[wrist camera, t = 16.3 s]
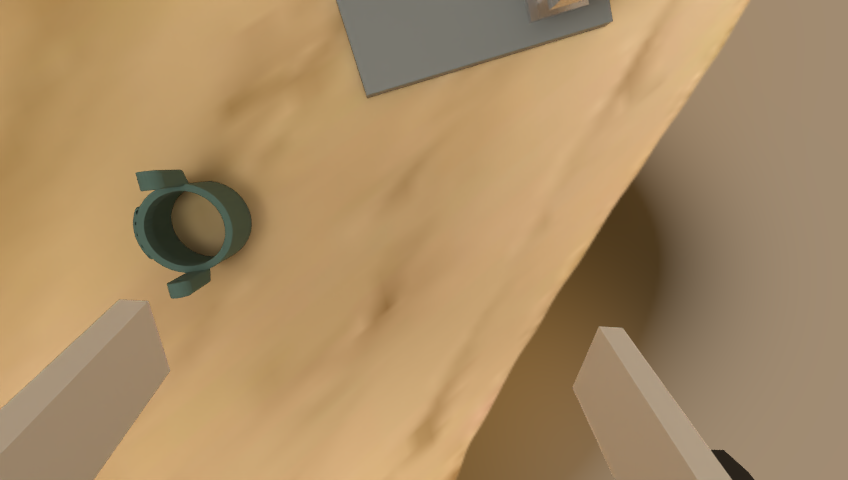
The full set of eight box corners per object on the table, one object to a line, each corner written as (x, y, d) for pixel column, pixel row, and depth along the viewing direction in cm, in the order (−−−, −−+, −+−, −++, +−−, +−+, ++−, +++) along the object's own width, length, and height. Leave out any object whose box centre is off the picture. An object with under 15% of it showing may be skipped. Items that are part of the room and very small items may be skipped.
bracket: (198, 160, 38) (141, 160, 29) (271, 221, 40) (239, 237, 31) (143, 225, 39) (72, 243, 30) (218, 281, 41) (171, 314, 32)
